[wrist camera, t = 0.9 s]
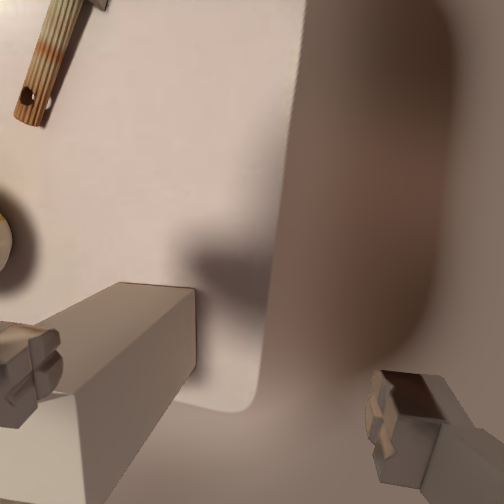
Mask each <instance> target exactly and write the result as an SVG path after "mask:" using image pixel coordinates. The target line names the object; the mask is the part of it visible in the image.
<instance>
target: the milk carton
mask: <svg viewBox="0 0 504 504" xmlns="http://www.w3.org/2000/svg"><path fill="white" fill-rule="evenodd" d="M35 326H41V327H48V328H54V329H56V330H57V331H58V332H59V334H60V340H61V344H60V345H59V347H58V348H57V349H56V350H57V351H58V352H59V354H60V355H61V356H62V357H63V364H64V367H63V374H62V377H61V379H60V381H59V383H58V386H57V387H56V388H55V389H54V390H53V392H52V393H51V394H50V395H48V396H46V397H44V398H42V399H40V400H38V408H37V409H36V410H35V411H34V413H33V414H32V415H31V416H30V417H29V418H28V419H27V420H26V421H25V422H24V423H23V425H22V426H21V427H20V428H19V429H13V428H4V427H0V498H3V499H9V500H15V501H22V502H28V503H34V504H104V503H105V501H106V500H107V498H108V497H109V495H110V494H111V492H112V491H113V489H114V488H115V486H116V485H117V483H118V482H119V480H120V479H121V477H122V476H123V474H124V473H125V471H126V470H127V468H128V467H129V465H130V464H131V462H132V461H133V459H134V458H135V456H136V455H137V453H138V452H139V450H140V449H141V447H142V446H143V444H144V443H145V441H146V440H147V438H148V437H149V435H150V434H151V432H152V431H153V429H154V428H155V426H156V425H157V423H158V422H159V420H160V418H161V417H162V416H163V414H164V413H165V411H166V410H167V408H168V406H169V405H170V404H171V402H172V401H173V399H174V398H175V396H176V395H177V393H178V392H179V390H180V389H181V387H182V385H183V384H184V382H185V381H186V379H187V378H188V376H189V375H190V373H191V372H192V370H193V369H194V367H195V365H196V328H195V290H194V289H188V288H175V287H163V286H151V285H139V284H126V283H116V284H114V285H112V286H110V287H108V288H106V289H104V290H102V291H100V292H98V293H96V294H94V295H92V296H90V297H88V298H86V299H84V300H82V301H81V302H79V303H77V304H75V305H73V306H71V307H69V308H67V309H65V310H63V311H61V312H59V313H57V314H55V315H53V316H51V317H49V318H47V319H45V320H43V321H41V322H40V323H38V324H36V325H35Z"/></svg>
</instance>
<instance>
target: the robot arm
mask: <svg viewBox="0 0 504 504" xmlns="http://www.w3.org/2000/svg"><path fill="white" fill-rule="evenodd" d="M60 344H61V340H60V334H59V332H58V331H57V330H56V329H54V328H48V327H41V326H35V325H28V324H21V323H14V322H6V321H0V427H4V428H13V429H19V428H20V427H21V426H22V425H23V423H24V422H25V421H26V420H27V419H28V418H29V417H30V416H31V415H32V414H33V413H34V411H35V410H36V409H37V408H38V400H40V399H42V398H44V397H46V396H48V395H50V394H51V393H52V392H53V390H54V389H55V388H56V387H57V386H58V383H59V381H60V379H61V377H62V374H63V367H64V364H63V357H62V356H61V355H60V354H59V352H58V351H57V350H56V349H57V348H58V347H59V345H60ZM371 384H372V387H373V390H374V393H373V394H372V395H370V396H369V397H368V399H367V404H366V410H365V411H366V412H365V424H366V431H367V435H368V439H369V440H370V441H371V442H372V443H373V444H374V445H375V448H374V452H373V458H374V462H375V465H376V469H377V473H378V477H379V481H380V482H381V483H386V484H392V485H397V486H403V487H409V488H414V489H420V492H421V493H422V494H423V496H424V497H425V498H426V500H427V501H428V502H429V503H430V504H504V444H503V443H502V442H501V441H499V440H498V439H496V438H495V437H493V436H492V435H491V434H489V433H488V432H486V431H485V430H484V429H479V428H475V427H474V425H473V423H472V422H471V420H470V418H469V417H468V415H467V414H466V412H465V411H464V409H463V407H462V406H461V404H460V403H459V401H458V400H457V398H456V397H455V395H454V393H453V392H452V390H451V389H450V387H449V386H448V384H447V383H446V381H445V380H444V378H442V377H441V376H439V375H428V374H412V373H403V372H395V371H386V370H378V369H376V370H375V372H374V374H373V377H372V382H371ZM0 504H34V503H28V502H22V501H15V500H9V499H3V498H0Z"/></svg>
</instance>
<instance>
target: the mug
mask: <svg viewBox="0 0 504 504" xmlns="http://www.w3.org/2000/svg"><path fill="white" fill-rule="evenodd" d="M11 248H12V234H11V230H10V227H9V225H8V223H7V221H6V220H5V218H4V217H3V216H2V214H1V213H0V271H1V270H2V269H3V268H4V266H5V264H6V262H7V260H8V257H9V254H10V251H11Z"/></svg>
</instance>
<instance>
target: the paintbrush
mask: <svg viewBox="0 0 504 504" xmlns="http://www.w3.org/2000/svg"><path fill="white" fill-rule="evenodd" d="M83 1H84V0H51V2H50V5H49V8H48V11H47V14H46V18H45V21H44V24H43V27H42V30H41V33H40V36H39V39H38V42H37V45H36V48H35V51H34V54H33V57H32V61H31V64H30V67H29V70H28V73H27V76H26V79H25V82H24V85H23V88H22V90H21V93H20V96H19V99H18V102H17V105H16V108H15V111H14V117H15V118H16V119H17V120H19V121H21V122H23V123H25V124H28V125H30V126H31V125H32V126H34V127H35V126H36V127H38V126H39V125H40V123H41V120H42V117H43V114H44V111H45V108H46V105H47V103H48V100H49V97H50V94H51V91H52V88H53V85H54V82H55V79H56V77H57V74H58V71H59V68H60V65H61V62H62V59H63V56H64V54H65V51H66V48H67V45H68V42H69V40H70V37H71V34H72V31H73V29H74V26H75V23H76V20H77V17H78V15H79V12H80V9H81V6H82V3H83ZM88 1H89V2H91V3H93V4H94V5H96V6H97V7H99V8H100V9H102V10H105V6H106V2H107V0H88ZM33 94H34V96H36V101H35V102H34V100H33V99H32V95H33Z"/></svg>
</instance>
